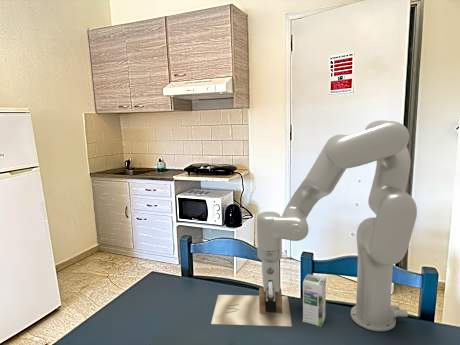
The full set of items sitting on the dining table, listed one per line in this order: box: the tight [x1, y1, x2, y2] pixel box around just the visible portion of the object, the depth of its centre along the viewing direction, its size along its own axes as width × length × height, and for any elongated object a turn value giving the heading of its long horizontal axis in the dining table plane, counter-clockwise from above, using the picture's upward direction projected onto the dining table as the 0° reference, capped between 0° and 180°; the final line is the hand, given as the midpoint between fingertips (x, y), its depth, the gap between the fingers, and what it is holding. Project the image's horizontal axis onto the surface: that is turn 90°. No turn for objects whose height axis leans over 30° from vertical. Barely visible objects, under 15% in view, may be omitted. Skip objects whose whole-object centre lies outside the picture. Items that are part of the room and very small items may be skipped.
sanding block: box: [258, 287, 283, 315], centre depth 102 cm, size 7×5×6 cm
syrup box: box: [302, 273, 327, 328], centre depth 96 cm, size 6×6×14 cm
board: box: [210, 294, 293, 327], centre depth 103 cm, size 24×16×2 cm, turn 84°
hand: (270, 304), depth 102 cm, fingers open, 6 cm apart
